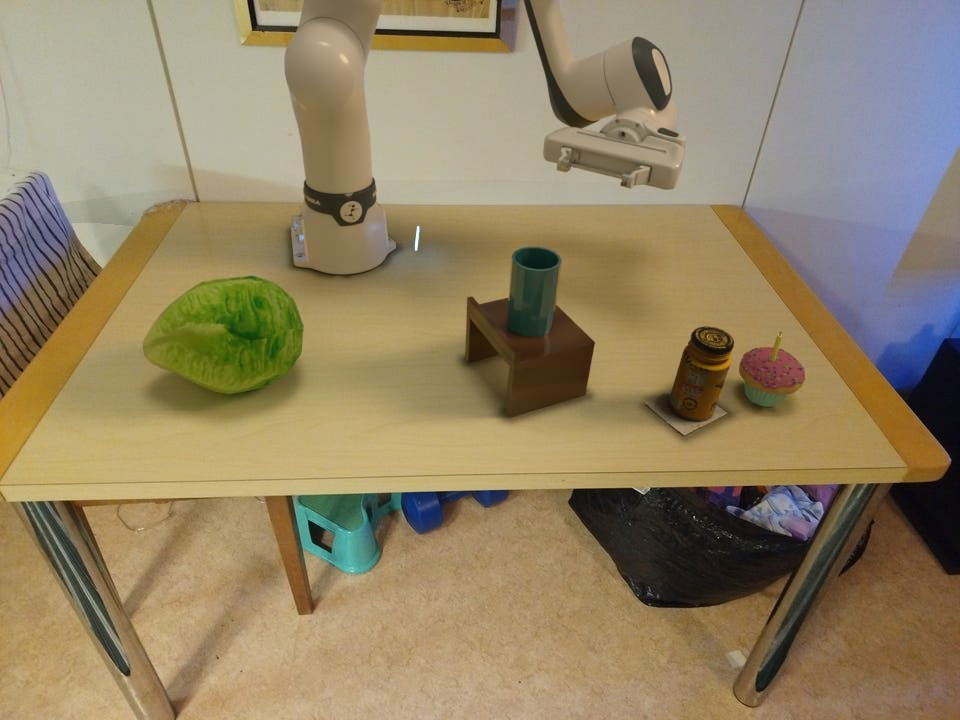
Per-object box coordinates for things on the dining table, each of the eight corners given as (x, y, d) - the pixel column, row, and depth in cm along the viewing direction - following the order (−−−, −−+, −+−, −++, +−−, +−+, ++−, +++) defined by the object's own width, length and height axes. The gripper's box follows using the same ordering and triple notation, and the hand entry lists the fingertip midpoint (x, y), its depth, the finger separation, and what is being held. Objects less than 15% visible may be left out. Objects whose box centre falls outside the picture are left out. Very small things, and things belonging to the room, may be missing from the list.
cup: (498, 316, 89) (503, 251, 83) (538, 307, 92) (545, 243, 86) (520, 341, 85) (527, 274, 79) (561, 331, 87) (570, 265, 81)
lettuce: (184, 361, 97) (150, 266, 89) (321, 345, 98) (300, 250, 90) (148, 429, 83) (103, 324, 75) (309, 410, 84) (282, 304, 76)
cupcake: (773, 424, 88) (804, 353, 81) (718, 392, 93) (742, 322, 86) (804, 398, 93) (836, 328, 85) (750, 369, 97) (776, 300, 90)
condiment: (727, 414, 89) (753, 342, 82) (683, 436, 85) (707, 363, 78) (686, 384, 94) (707, 314, 87) (644, 404, 90) (662, 333, 83)
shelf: (464, 358, 97) (467, 297, 90) (535, 339, 101) (542, 280, 95) (509, 417, 87) (515, 353, 80) (585, 394, 91) (597, 332, 85)
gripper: (566, 110, 102) (527, 135, 92) (697, 138, 94) (670, 168, 85) (561, 151, 106) (523, 178, 96) (686, 180, 98) (659, 213, 88)
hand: (593, 174), depth 90 cm, fingers open, 8 cm apart
